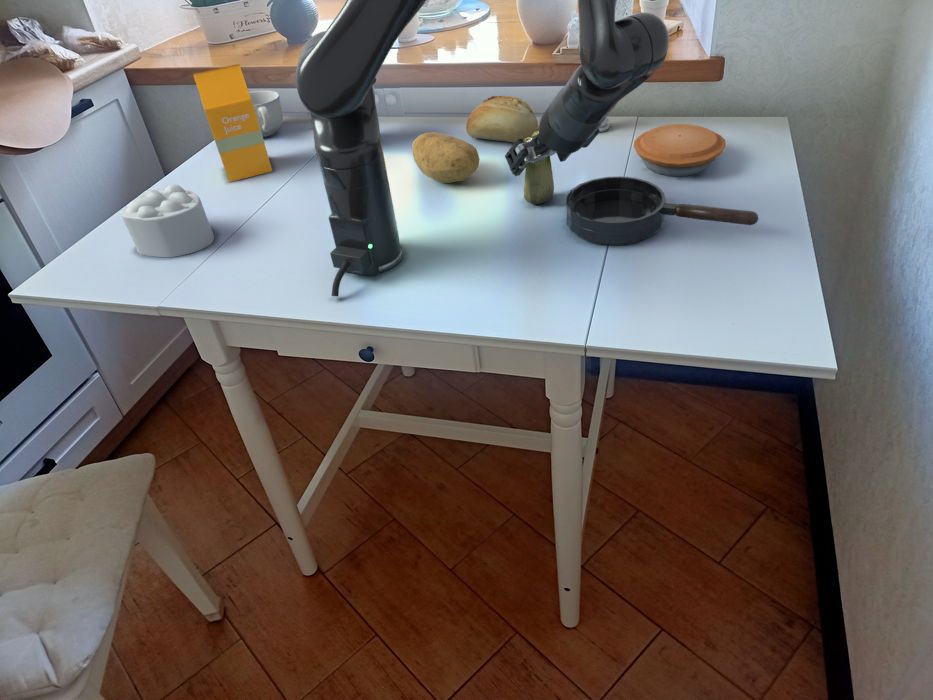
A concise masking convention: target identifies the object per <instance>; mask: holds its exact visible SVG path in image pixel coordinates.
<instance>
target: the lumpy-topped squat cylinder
mask: <svg viewBox="0 0 933 700" xmlns="http://www.w3.org/2000/svg"><path fill="white" fill-rule="evenodd" d="M120 216H121V218H122V221H123V223H124V225H125V227H126V229H127V232H128V233H129V236H130V238H131V240H132V242H133V245H134V246H135V249H136V251H137V253H138V254H140V255H142V256H148V257H154V258H155V257H157V258H174V257H181V256H185V255H189V254H192V253H196V252H198V251H200V250H203V249H205V248H207V247H209V246H210V245H211V244H212V243H213V242H214V239H215V235H214V232H213V229H212V227H211V224H210V221H209V219H208V217H207V213H206V211H205V209H204V205H203V203H202V201H201V198H200V196H199V195H197V194H196V193H195V192H193V191H191V190H187V189H184V188H183V187H182V186H180V185H178V184H170V185H167V186H166V187H165V188H161V189H160V188H159V189H147V190H145V191H143V192H142V193H141V194H140V195H139V196H137V197H136V198H135V199H133V200H132V201H130V202H129V203H128V204H127V206H125V207H124V208H122V209H121V211H120Z"/></svg>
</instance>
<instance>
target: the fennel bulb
mask: <svg viewBox="0 0 933 700" xmlns="http://www.w3.org/2000/svg"><path fill="white" fill-rule="evenodd" d="M538 132H539V131H537V132H534V134H533V135H532V138H533V137H534V136H535V135H537V133H538ZM530 139H531V137H529V138H526V139H524V143H525V142H527V141H528V140H530ZM533 149H534V148H533ZM534 152H535V154H536V156H539V155H540V154H539V153H538V152H537V151H535V149H534ZM527 159H528V157H526V158H525V161H526V160H527ZM552 167H553V166H552V161H551V156H548V157H546V158H544V159H543V160H541V161H540V162H538V163H531V164H529V165H528V166H526V168H525V170H524V171H525V172H524V183H523V184H524V185H523V198H524V199H525V201H526V202H527V203H529V204H532V205H541V204H545V203H547V202H549V201H550V200H552V199H553V196H554V192H555V183H554V176H553V175H554V174H553V168H552Z"/></svg>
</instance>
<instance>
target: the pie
mask: <svg viewBox="0 0 933 700" xmlns="http://www.w3.org/2000/svg"><path fill="white" fill-rule="evenodd" d="M726 144H727V143H726V138H725V137H723V136H722V135H720V134H719V133H717V132H715V131H713V130H711V129H709V128H707V127H704V126H700V125H696V124H689V123H674V124H665V125H661V126H657V127H653V128H651V129H650V130H647V131H645V132H643V133H641V134H640V135H638V136H637V137H636V138H635V139H634V141H633V149H634V150H635V152H636V154H637V155H638V156H639V157H640V159H641V160H642V162H643V164H644V165H645V167H646V168H647V169H648V170H650V171H651V172H653V173H656V174H659V175H662V176H667V177H688V176H693V175H697V174H700V173H702V172H705V170H707V169H708V168H709V167H710V166H711V165H712V164H713V162H715V160H716V159H717V158H718V157H719V156H720V155H721V154H722V153H723V152H724V150H725V148H726Z"/></svg>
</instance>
